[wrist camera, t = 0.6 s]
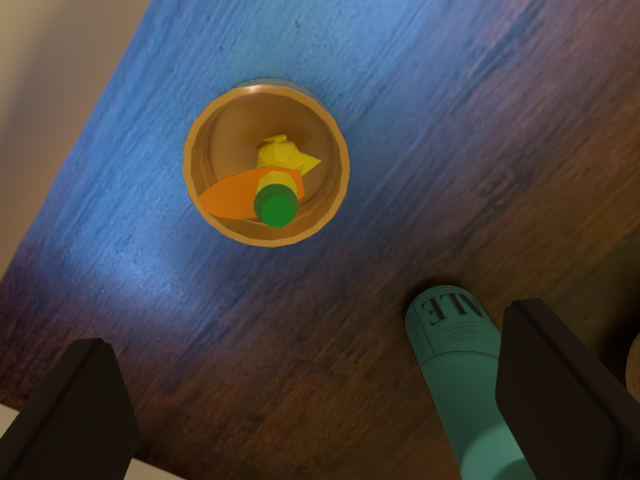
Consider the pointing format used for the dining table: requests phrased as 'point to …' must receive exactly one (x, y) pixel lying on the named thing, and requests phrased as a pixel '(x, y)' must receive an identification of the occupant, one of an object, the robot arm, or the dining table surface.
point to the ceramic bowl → (634, 369)
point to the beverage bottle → (465, 381)
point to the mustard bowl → (241, 154)
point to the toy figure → (263, 186)
